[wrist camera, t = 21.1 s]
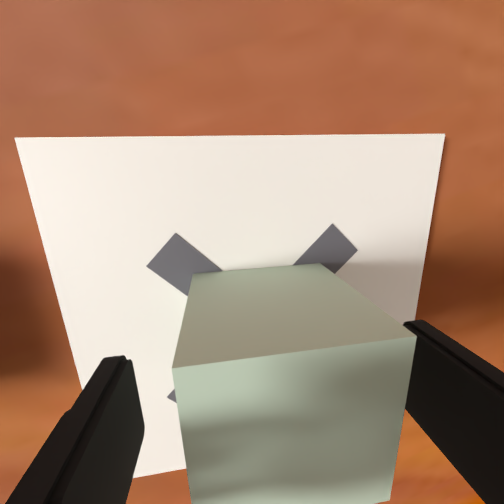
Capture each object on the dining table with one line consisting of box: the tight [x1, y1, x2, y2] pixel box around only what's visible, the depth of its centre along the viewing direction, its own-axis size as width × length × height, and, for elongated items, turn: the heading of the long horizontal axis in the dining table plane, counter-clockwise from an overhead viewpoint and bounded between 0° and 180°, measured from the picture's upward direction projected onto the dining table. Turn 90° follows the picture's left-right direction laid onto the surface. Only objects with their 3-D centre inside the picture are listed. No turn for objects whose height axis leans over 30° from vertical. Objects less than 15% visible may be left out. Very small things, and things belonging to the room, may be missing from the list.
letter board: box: [15, 134, 445, 478], centre depth 12 cm, size 16×16×1 cm
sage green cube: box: [172, 263, 417, 504], centre depth 9 cm, size 6×6×6 cm
